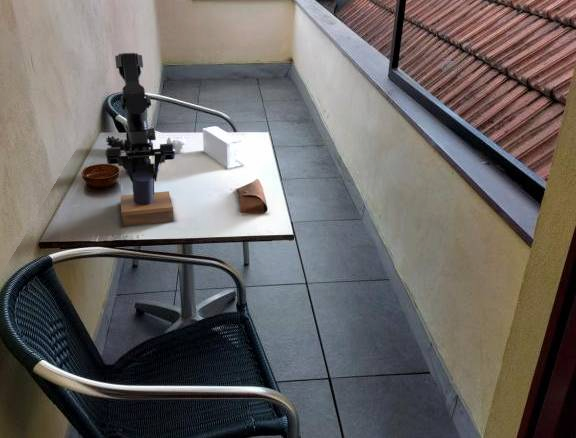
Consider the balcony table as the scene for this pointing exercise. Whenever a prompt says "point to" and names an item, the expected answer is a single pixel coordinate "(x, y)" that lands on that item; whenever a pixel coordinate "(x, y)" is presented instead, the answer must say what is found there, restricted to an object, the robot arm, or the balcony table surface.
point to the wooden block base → (147, 210)
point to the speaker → (143, 184)
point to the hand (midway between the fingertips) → (144, 181)
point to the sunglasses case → (252, 198)
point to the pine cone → (116, 143)
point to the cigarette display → (220, 146)
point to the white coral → (176, 143)
